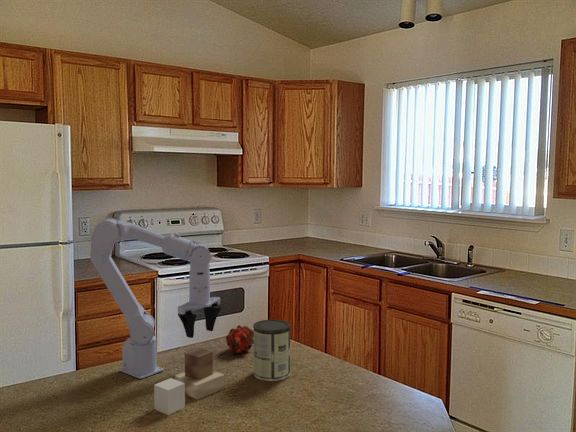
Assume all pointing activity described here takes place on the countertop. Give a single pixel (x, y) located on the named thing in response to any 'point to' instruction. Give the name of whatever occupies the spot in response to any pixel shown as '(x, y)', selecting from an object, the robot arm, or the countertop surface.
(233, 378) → the countertop surface
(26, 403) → the countertop surface
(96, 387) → the countertop surface
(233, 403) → the countertop surface
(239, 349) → the dragon fruit
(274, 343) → the coffee can
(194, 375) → the walnut block
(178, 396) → the off-white block
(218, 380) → the birch base block
